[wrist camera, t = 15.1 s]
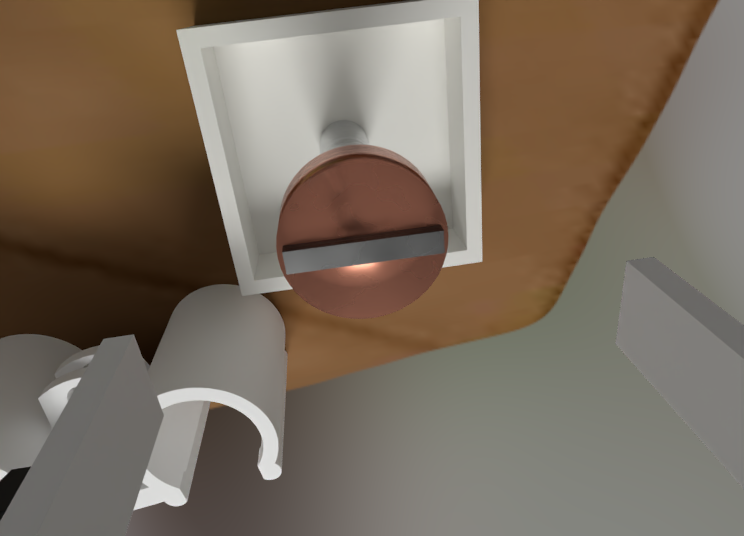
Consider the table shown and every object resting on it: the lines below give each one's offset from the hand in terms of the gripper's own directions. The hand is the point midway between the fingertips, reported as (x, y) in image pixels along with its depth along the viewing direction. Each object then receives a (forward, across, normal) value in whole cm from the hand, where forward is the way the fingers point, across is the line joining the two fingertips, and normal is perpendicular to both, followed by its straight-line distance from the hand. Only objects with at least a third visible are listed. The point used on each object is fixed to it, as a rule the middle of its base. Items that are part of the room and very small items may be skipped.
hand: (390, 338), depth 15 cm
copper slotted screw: (+23, 0, -1) cm, 23 cm away
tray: (+24, 0, -1) cm, 24 cm away
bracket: (+25, -19, -16) cm, 35 cm away
